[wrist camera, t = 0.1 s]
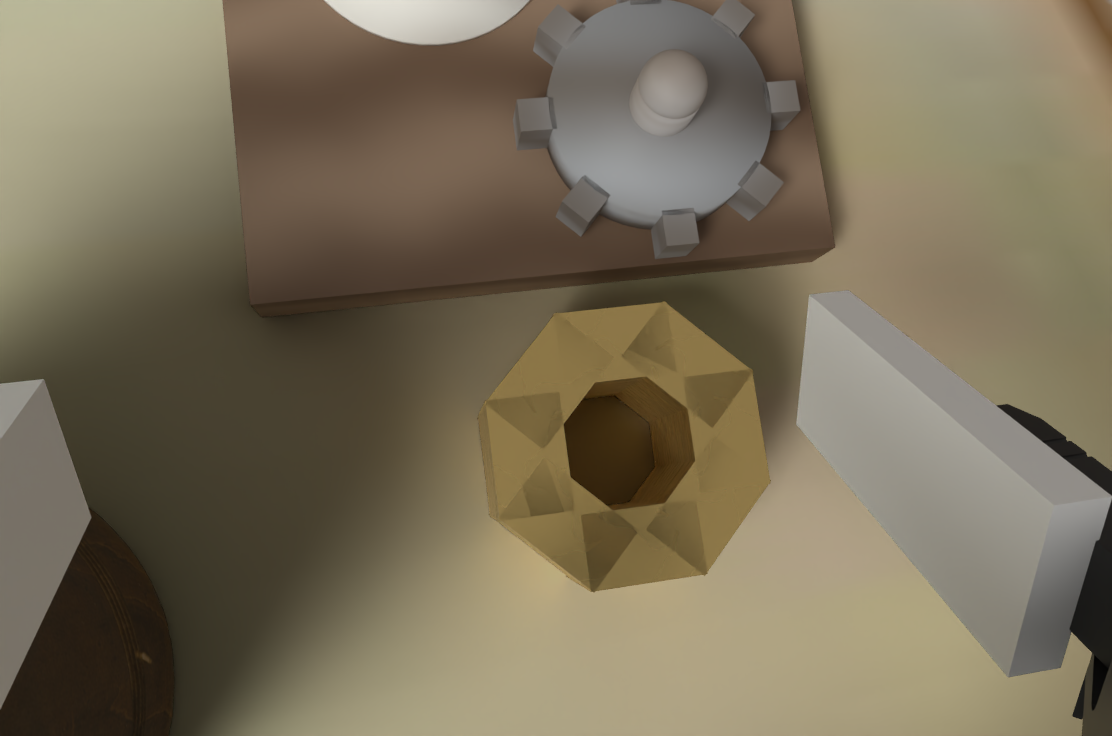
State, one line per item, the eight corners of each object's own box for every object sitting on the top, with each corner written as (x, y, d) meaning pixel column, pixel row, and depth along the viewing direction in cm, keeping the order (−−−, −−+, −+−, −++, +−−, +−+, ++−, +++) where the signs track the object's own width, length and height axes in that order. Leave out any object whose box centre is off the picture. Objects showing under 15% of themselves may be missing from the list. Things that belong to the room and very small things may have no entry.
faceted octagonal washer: (730, 553, 31) (784, 563, 26) (497, 588, 30) (509, 605, 25) (695, 323, 32) (740, 292, 27) (468, 348, 31) (474, 320, 26)
